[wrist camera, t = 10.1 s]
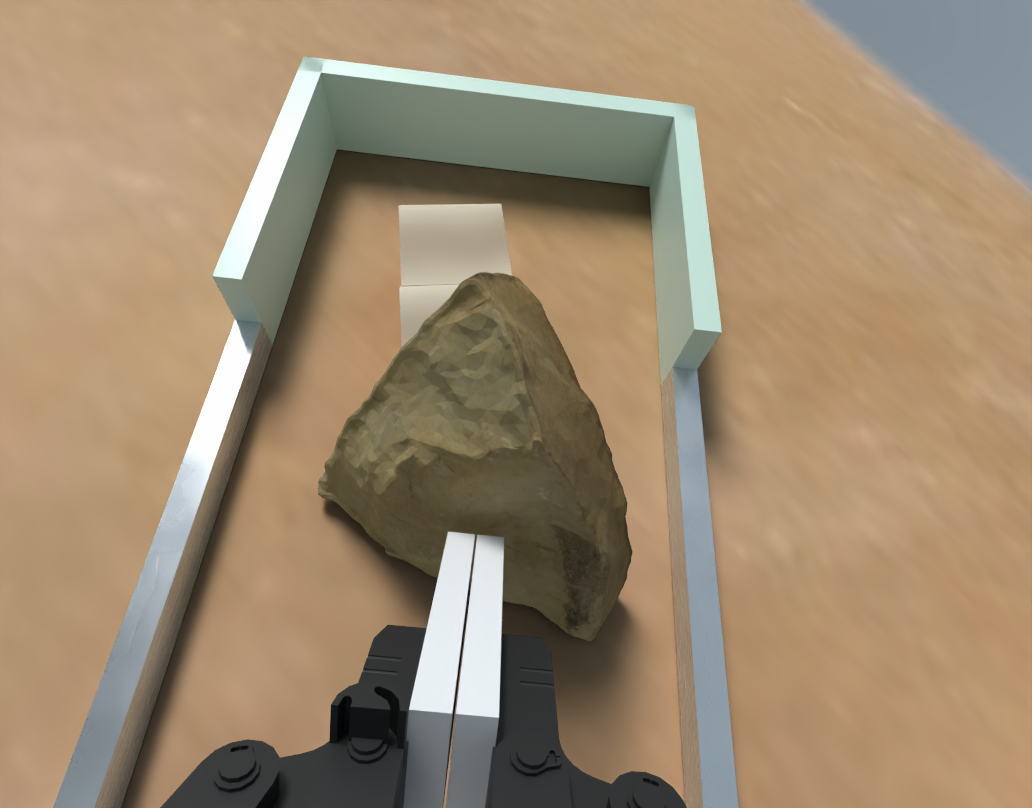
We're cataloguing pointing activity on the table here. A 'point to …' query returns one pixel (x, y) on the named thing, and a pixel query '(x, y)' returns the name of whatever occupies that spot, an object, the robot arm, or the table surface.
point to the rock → (490, 456)
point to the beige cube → (451, 243)
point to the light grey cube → (420, 306)
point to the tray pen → (486, 143)
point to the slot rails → (189, 522)
